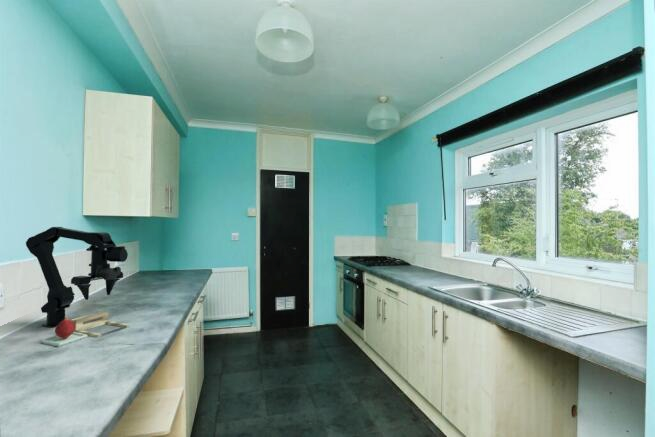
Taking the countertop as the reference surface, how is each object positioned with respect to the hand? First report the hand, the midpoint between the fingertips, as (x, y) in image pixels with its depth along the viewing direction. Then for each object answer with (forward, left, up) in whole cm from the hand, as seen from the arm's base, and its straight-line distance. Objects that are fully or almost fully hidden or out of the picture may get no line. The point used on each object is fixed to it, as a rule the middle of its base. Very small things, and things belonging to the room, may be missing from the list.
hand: (97, 297), depth 133 cm
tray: (+6, -16, -12) cm, 21 cm away
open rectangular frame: (+7, -3, -12) cm, 14 cm away
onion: (+6, -16, -12) cm, 21 cm away
